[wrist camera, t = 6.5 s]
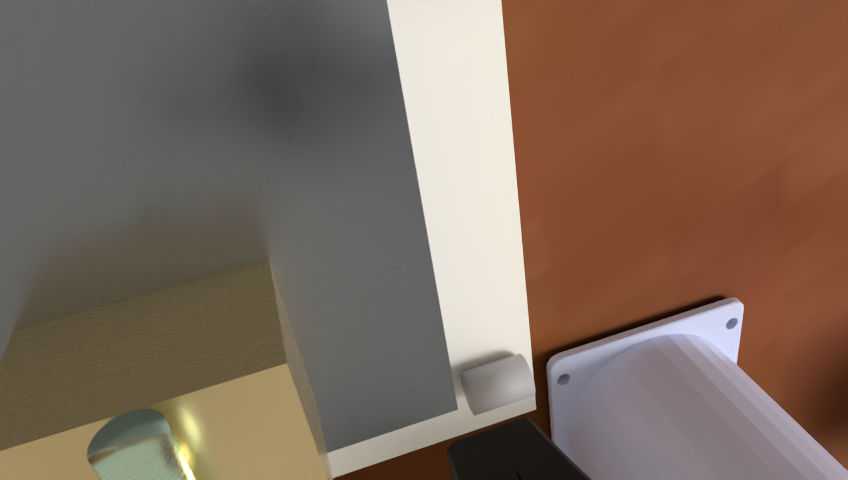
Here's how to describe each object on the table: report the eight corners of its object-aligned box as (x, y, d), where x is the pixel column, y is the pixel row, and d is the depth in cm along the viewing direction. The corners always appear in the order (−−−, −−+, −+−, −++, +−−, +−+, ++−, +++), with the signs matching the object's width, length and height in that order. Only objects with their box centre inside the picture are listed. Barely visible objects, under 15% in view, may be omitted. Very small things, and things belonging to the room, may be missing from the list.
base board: (519, 381, 25) (553, 438, 23) (-57, 571, 22) (-89, 661, 19) (449, -302, 14) (500, -332, 12) (-700, -128, 11) (-947, -121, 9)
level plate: (446, 384, 22) (529, 562, 16) (-9, 531, 20) (-89, 796, 14) (350, -142, 14) (449, -136, 8) (-433, 6, 12) (-992, 143, 6)
